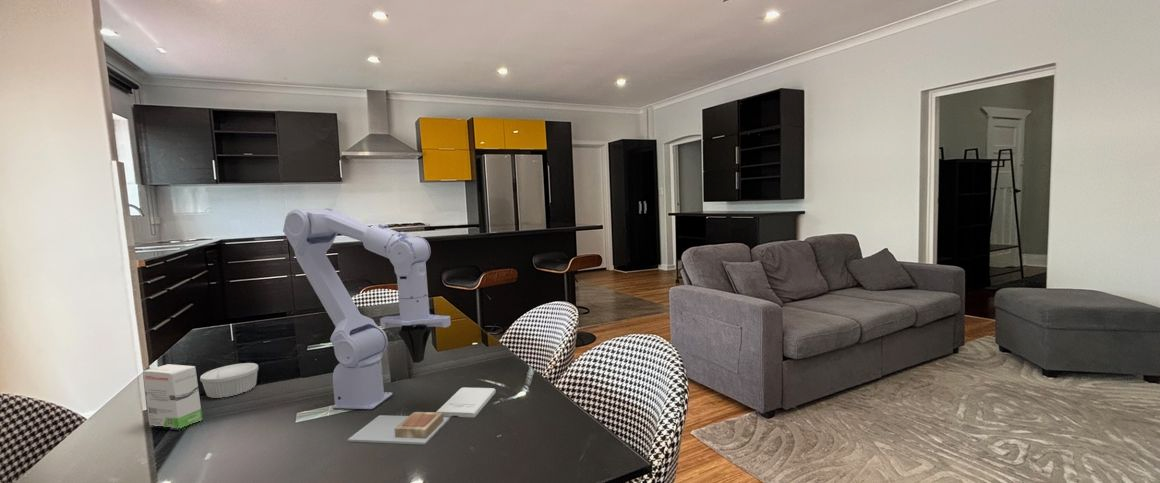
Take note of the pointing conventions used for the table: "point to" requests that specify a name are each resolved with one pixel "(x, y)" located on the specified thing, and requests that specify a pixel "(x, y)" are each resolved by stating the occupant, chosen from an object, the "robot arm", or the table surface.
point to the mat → (389, 431)
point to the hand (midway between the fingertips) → (418, 361)
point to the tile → (419, 425)
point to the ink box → (172, 396)
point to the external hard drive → (467, 402)
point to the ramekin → (230, 380)
